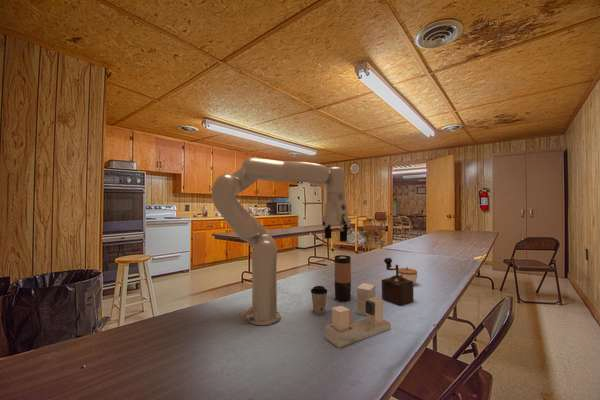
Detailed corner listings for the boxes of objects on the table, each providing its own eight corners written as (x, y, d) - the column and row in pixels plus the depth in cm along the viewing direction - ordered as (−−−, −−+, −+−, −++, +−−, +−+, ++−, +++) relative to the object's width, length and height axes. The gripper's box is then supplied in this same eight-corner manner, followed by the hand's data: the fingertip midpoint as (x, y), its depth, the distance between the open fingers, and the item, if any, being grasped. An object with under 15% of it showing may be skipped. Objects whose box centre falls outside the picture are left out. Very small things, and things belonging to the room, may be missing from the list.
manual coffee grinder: (415, 301, 121) (415, 262, 122) (400, 306, 115) (399, 265, 116) (387, 292, 134) (387, 256, 135) (372, 296, 128) (372, 259, 129)
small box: (362, 307, 115) (362, 282, 115) (375, 309, 112) (375, 284, 112) (356, 313, 108) (356, 287, 108) (370, 316, 105) (370, 289, 105)
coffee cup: (326, 316, 105) (326, 290, 106) (309, 314, 107) (309, 289, 107) (328, 309, 112) (328, 285, 112) (312, 308, 114) (312, 284, 114)
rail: (338, 348, 82) (338, 315, 82) (324, 337, 88) (324, 307, 88) (390, 328, 94) (390, 300, 95) (374, 321, 101) (374, 294, 101)
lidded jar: (392, 282, 151) (392, 265, 151) (408, 280, 154) (408, 264, 154) (405, 288, 141) (405, 270, 141) (421, 286, 144) (421, 268, 144)
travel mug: (350, 296, 127) (350, 255, 128) (351, 302, 120) (351, 258, 120) (334, 296, 128) (334, 255, 129) (334, 301, 121) (334, 258, 121)
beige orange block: (339, 337, 84) (339, 312, 85) (332, 332, 88) (332, 308, 88) (351, 333, 87) (351, 309, 87) (343, 328, 90) (343, 305, 91)
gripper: (357, 197, 102) (357, 241, 102) (329, 198, 117) (329, 237, 116) (342, 197, 98) (342, 243, 98) (315, 198, 113) (315, 238, 112)
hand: (335, 239), depth 107 cm, fingers open, 9 cm apart
